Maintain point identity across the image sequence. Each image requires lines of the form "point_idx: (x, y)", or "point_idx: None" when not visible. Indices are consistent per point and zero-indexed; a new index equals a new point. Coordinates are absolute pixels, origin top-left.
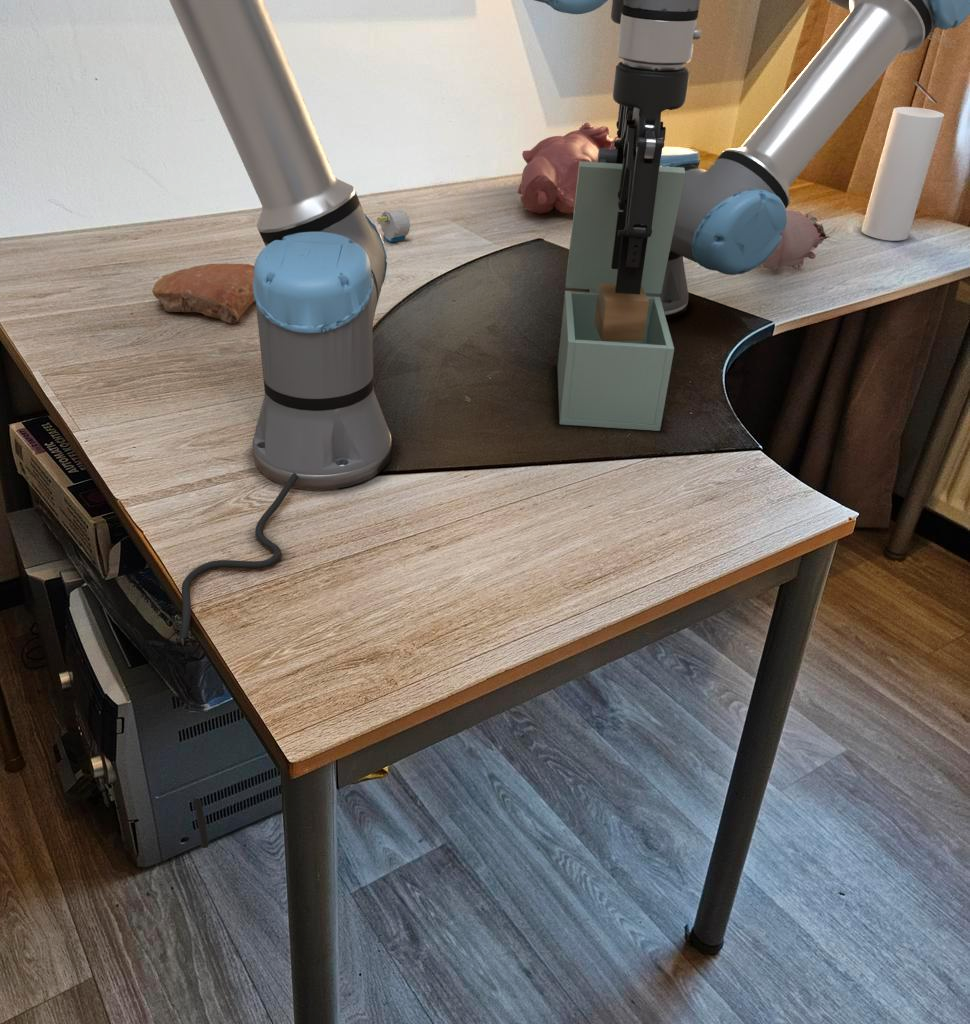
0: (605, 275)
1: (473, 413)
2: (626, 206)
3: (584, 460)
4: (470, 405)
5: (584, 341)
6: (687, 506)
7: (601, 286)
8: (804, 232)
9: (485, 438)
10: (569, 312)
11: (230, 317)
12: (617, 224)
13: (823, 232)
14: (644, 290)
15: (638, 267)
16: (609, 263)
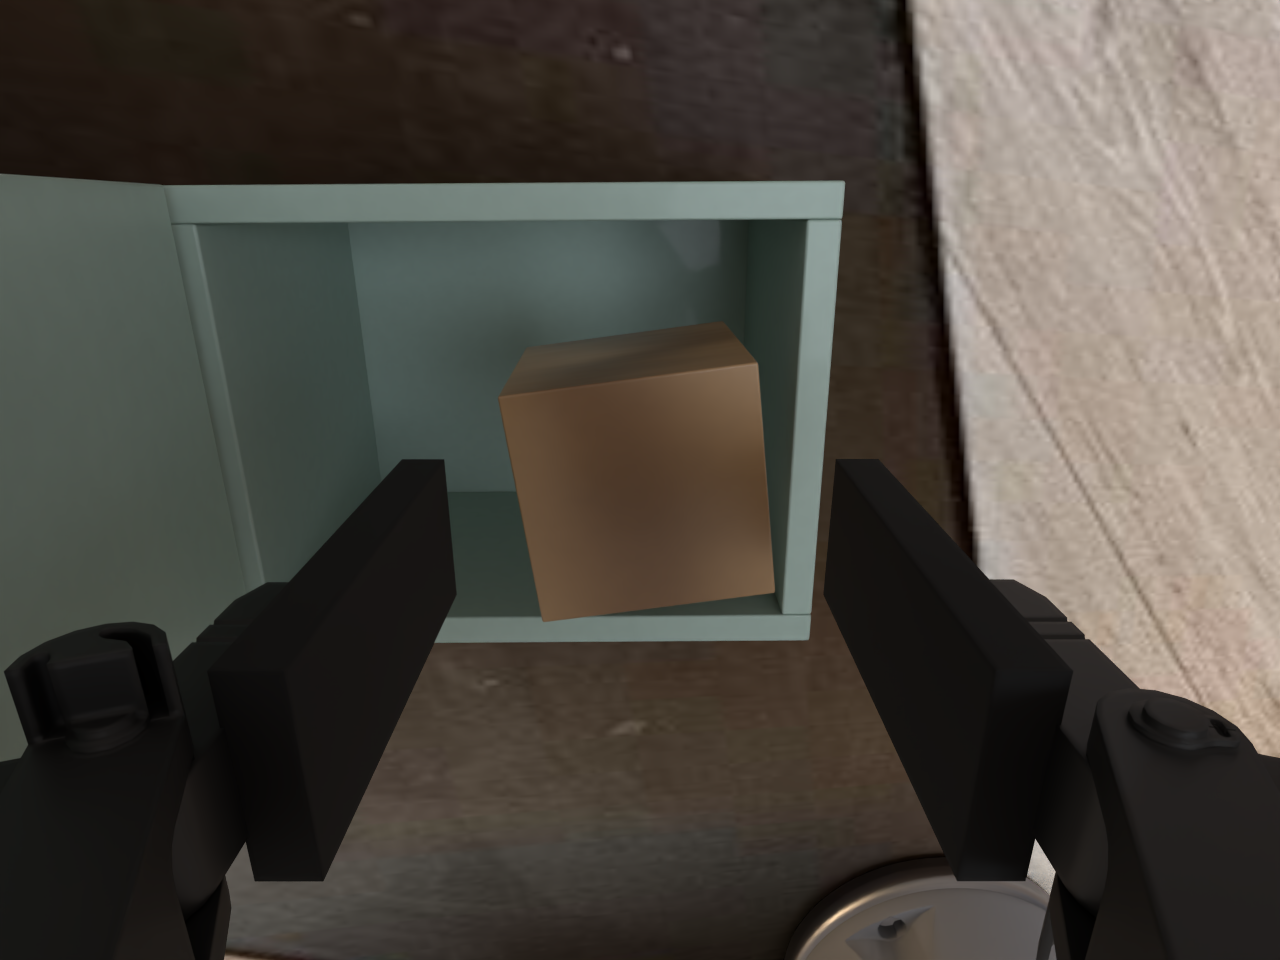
0: (201, 527)
1: (708, 710)
2: (209, 869)
3: (952, 436)
4: (664, 719)
5: (800, 581)
6: (1223, 148)
7: (581, 610)
8: None
9: (839, 678)
10: (502, 631)
11: None
12: (360, 795)
13: None
14: (179, 286)
15: (1016, 583)
16: (170, 546)
